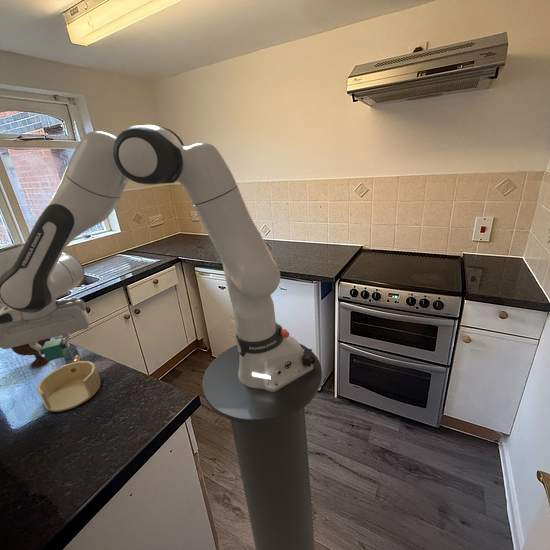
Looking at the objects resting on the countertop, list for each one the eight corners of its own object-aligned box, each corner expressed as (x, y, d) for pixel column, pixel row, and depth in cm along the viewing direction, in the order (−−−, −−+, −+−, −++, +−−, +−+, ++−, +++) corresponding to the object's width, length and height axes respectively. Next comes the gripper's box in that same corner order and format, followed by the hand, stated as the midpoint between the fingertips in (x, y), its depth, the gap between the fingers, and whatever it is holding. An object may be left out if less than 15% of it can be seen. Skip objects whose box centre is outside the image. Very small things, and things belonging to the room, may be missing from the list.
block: (67, 349, 85) (62, 337, 84) (64, 356, 82) (59, 344, 80) (50, 353, 84) (45, 341, 82) (47, 361, 80) (41, 349, 79)
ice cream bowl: (66, 355, 107) (50, 319, 101) (32, 375, 98) (13, 337, 92) (48, 350, 111) (33, 315, 106) (14, 369, 102) (-5, 331, 97)
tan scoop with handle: (104, 359, 102) (99, 344, 100) (98, 399, 84) (91, 382, 82) (57, 373, 97) (50, 358, 95) (39, 419, 79) (30, 401, 77)
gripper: (83, 291, 84) (98, 334, 89) (-8, 311, 76) (14, 356, 81) (80, 300, 78) (96, 344, 83) (-18, 322, 71) (6, 369, 76)
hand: (55, 350), depth 82 cm, fingers closed on block, 4 cm apart
